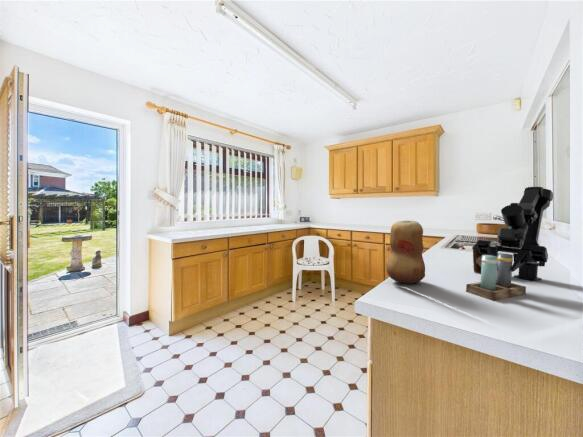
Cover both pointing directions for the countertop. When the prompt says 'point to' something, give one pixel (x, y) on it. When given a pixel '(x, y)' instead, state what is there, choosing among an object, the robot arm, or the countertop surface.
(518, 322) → the countertop surface
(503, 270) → the plug charcoal
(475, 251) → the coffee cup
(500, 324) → the countertop surface
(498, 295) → the slot rack
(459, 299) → the countertop surface
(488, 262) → the plug teal
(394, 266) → the butternut squash
